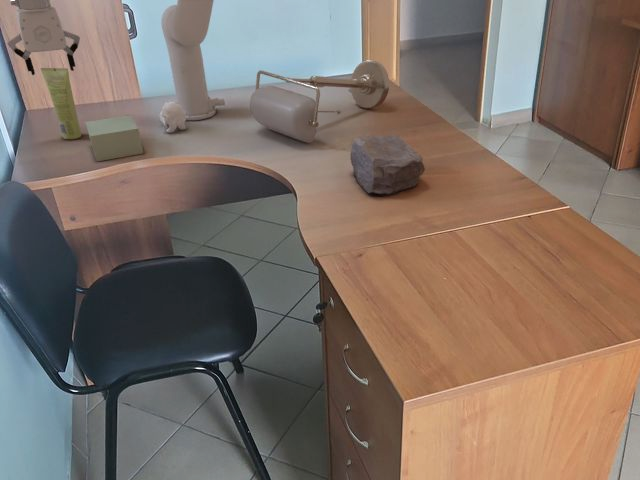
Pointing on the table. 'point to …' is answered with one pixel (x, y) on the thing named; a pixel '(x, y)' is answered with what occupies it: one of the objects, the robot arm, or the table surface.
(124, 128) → the block
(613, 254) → the table surface
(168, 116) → the white irregular rounded piece
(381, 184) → the stone block
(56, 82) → the tube
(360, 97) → the lamp
